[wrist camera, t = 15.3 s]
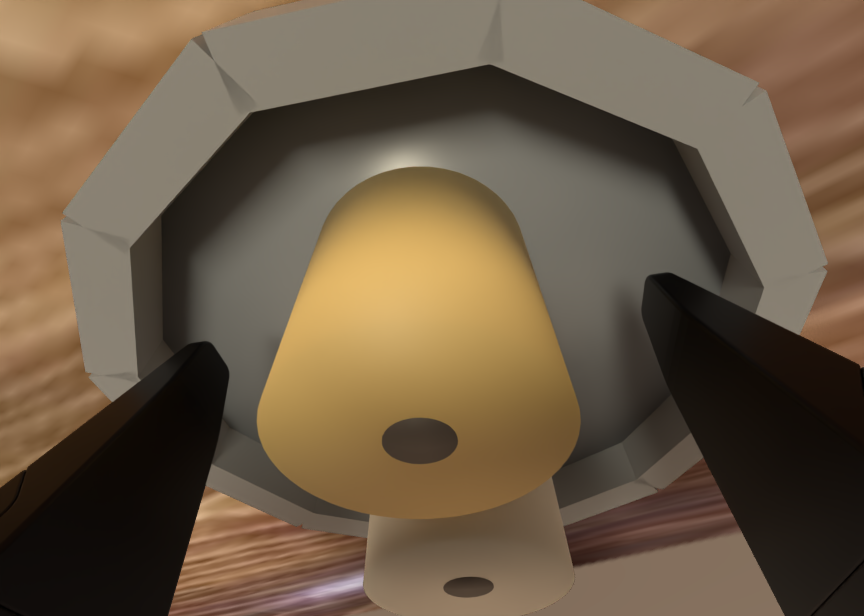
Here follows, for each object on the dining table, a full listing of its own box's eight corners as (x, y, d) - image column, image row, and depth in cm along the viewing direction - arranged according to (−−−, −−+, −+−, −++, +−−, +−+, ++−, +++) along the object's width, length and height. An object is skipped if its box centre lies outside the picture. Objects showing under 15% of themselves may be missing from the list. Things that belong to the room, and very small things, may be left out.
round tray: (856, -126, 8) (1010, -149, 6) (686, 453, 18) (719, 517, 16) (-38, 77, 9) (-164, 114, 7) (280, 498, 20) (264, 560, 18)
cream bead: (531, 351, 13) (576, 528, 9) (537, 451, 16) (573, 616, 12) (360, 374, 13) (334, 552, 10) (398, 467, 17) (390, 630, 13)
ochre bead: (517, 146, 9) (585, 293, 5) (529, 327, 12) (578, 505, 8) (284, 189, 10) (191, 352, 6) (352, 352, 13) (320, 531, 9)
